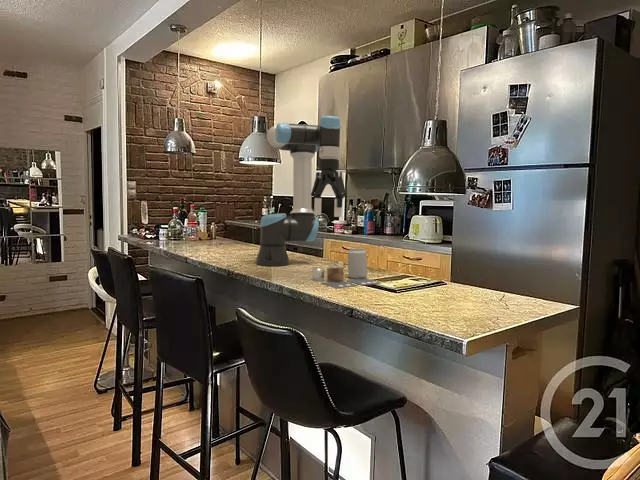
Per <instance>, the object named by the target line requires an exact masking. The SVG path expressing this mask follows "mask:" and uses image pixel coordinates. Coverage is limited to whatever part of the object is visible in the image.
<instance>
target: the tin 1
mask: <svg viewBox="0 0 640 480" xmlns="http://www.w3.org/2000/svg"><path fill="white" fill-rule="evenodd" d="M312 281H314V282H323V281H324V282H325V268H324V267H312Z"/></svg>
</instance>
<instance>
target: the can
mask: <svg viewBox="0 0 640 480" xmlns="http://www.w3.org/2000/svg"><path fill="white" fill-rule="evenodd" d="M367 261H368V253H367V250H366V248H363V247H362V248H361V247H354V248H349V250H348V252H347V269H348V270H347V274H348V275H347V276H348V277H349V278H350V279H351V280H355V279H364V278H367V276H368V262H367Z"/></svg>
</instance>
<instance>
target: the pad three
mask: <svg viewBox="0 0 640 480" xmlns="http://www.w3.org/2000/svg"><path fill="white" fill-rule="evenodd" d="M344 281H345V282H348V283H352V284H355V285H358V286H361V287H362V286H370V285H380V284H381V285H382V282H379V281H377V280H374V279H373V280H372V279H369V278H367V277H365V278H364V279H347V280H344Z"/></svg>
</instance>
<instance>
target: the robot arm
mask: <svg viewBox="0 0 640 480" xmlns="http://www.w3.org/2000/svg"><path fill="white" fill-rule="evenodd" d="M319 120H320V121H319V125H317V124H298V123H297V124H296V123H288V122H282V123H281V122H278V123H277V124H276V125H273V126H271V127H269V128H268V130H267V131H266V139H265V140H266V141H267V143H268V145H269V146H271V147H272V148H274V149H277V150H279V151H280V150H281V151H289V152H290V153H289V156H290V157H291V158H292V159H293V165H292V167H293V169H292V170H293V174H292V175H293V176H292V177H293V180H292V181H293V183H292V185H293V191H292V193H293V195H292V196H293V198H292V199H293V200H292V204H293V205H292V206H293V207H292V210H291V211H290V213H289V216H287V214H286V213H282V212H281V213H272V214H266V215H263V216H262V217H261V219H260V225H259V227H260V241H259V242H260V243H259V245H260V246H259V249H258V253H257V256H256V258H255V259H256V260H255V264H256V265H258V266H263V267H264V266H266V267H281V266H282V267H284V266H288V265H289V264H290V260H289V256H288V252H287V248H286V243H287V242H299V243H300V242H303V243H306V242H313V241H314V240H315V239H316V238H317V236H318V232H319V224H320V221H319V217H318V216H322V201H323V200H322V197H323V196H322V194H323V193H324V191H325V188H326V186H327V185H330V187H331V189H332V191H333V193H334V196H335V198H334V207H333V210H334V211H333V214H334V215H333V217H334V218H335V217H336V218H341V217H342V211H343V209H342V208H343V199H344V198H347V196H348V195H347V192H346V191H347V190H346V187H345V184H344V180H343V172H342V171H340V170H339V169H340V160H339V159H340V140H341V138H340V137H341V128H342V127H341V118H339V117H338V116H336V115H324V116H321V117H320V119H319ZM318 151H319V152H318ZM317 152H318V153H319V155H318V157H319V158H320V159H318V169H319V170H321V172H320V171H316V173H315V179H314V182H313V187H312V174H313V173H312V172H313V171H312V168H313V167H312V161H313V160H312V159H313V158H314V157H315V156H316V155H315V154H316V153H317ZM338 170H339V171H338ZM312 197H313V198H314V203H313V204H314V205H313V206H314V208H313V209H312Z"/></svg>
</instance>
